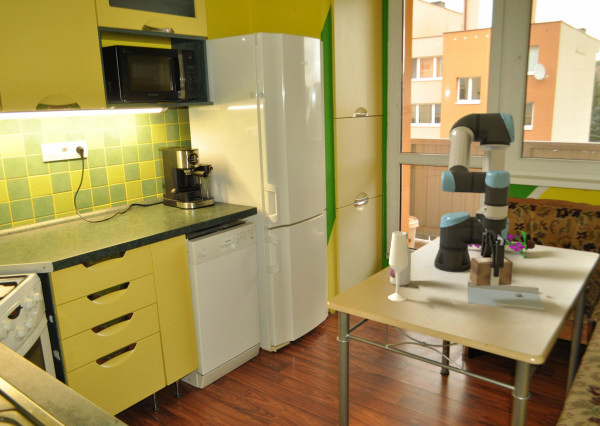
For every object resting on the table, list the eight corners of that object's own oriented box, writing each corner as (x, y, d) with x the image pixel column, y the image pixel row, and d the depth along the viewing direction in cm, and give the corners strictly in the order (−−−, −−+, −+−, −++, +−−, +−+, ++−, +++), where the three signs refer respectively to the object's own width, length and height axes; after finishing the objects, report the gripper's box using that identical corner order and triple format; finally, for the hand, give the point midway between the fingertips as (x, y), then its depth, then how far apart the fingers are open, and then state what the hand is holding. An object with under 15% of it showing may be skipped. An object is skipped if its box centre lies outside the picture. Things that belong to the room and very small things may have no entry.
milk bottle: (412, 280, 195) (413, 231, 191) (407, 287, 188) (409, 236, 184) (392, 278, 198) (394, 229, 194) (387, 284, 192) (389, 234, 187)
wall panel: (467, 306, 170) (468, 297, 169) (467, 288, 187) (468, 280, 186) (544, 314, 163) (545, 305, 162) (537, 294, 179) (538, 286, 179)
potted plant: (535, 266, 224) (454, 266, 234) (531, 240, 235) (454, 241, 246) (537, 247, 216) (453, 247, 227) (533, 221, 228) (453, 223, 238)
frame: (476, 286, 169) (477, 263, 167) (469, 279, 175) (471, 257, 173) (511, 284, 169) (512, 261, 167) (503, 278, 175) (505, 256, 173)
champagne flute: (400, 293, 182) (403, 230, 177) (410, 299, 176) (412, 234, 171) (384, 295, 180) (386, 231, 175) (393, 302, 174) (395, 236, 169)
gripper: (473, 210, 176) (469, 272, 181) (495, 224, 157) (490, 292, 163) (494, 209, 176) (489, 271, 181) (519, 223, 157) (513, 291, 163)
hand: (490, 281), depth 172 cm, fingers closed on frame, 6 cm apart
